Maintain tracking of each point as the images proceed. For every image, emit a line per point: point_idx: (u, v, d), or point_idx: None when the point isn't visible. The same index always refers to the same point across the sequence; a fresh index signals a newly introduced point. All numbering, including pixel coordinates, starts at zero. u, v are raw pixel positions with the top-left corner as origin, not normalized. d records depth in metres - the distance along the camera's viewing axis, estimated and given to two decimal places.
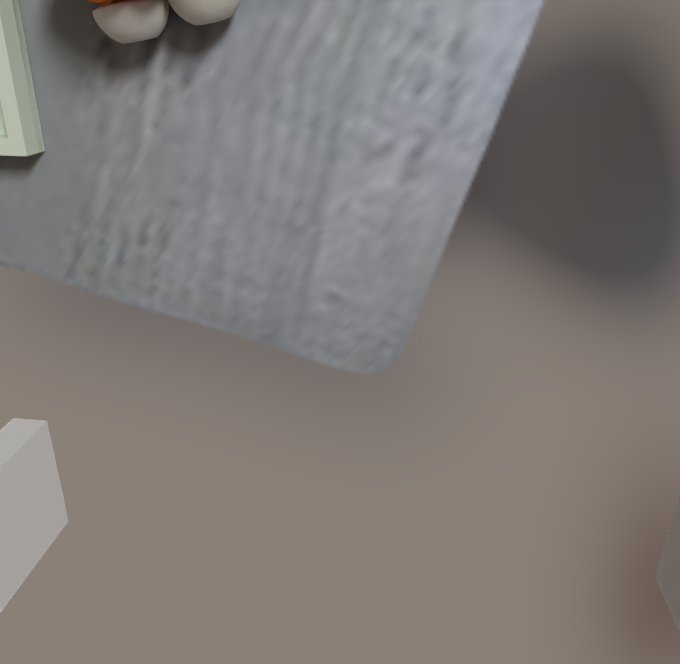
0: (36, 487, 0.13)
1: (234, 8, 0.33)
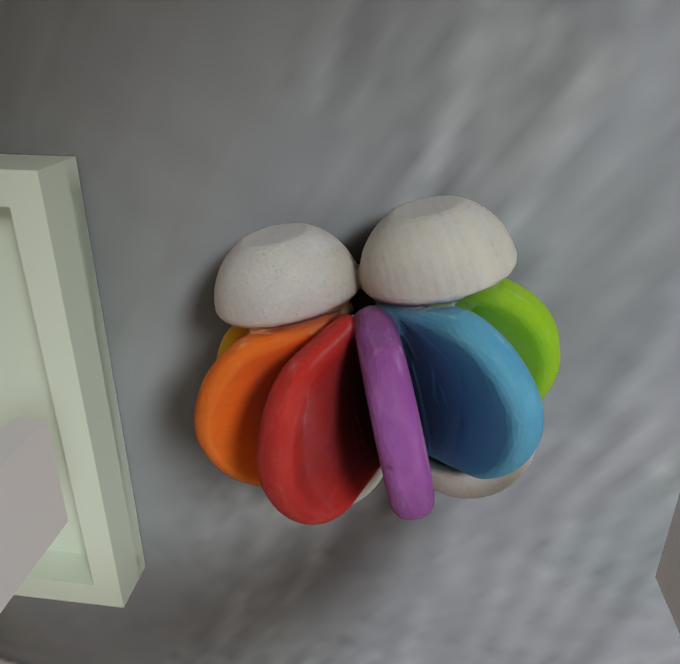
0: (36, 487, 0.13)
1: None
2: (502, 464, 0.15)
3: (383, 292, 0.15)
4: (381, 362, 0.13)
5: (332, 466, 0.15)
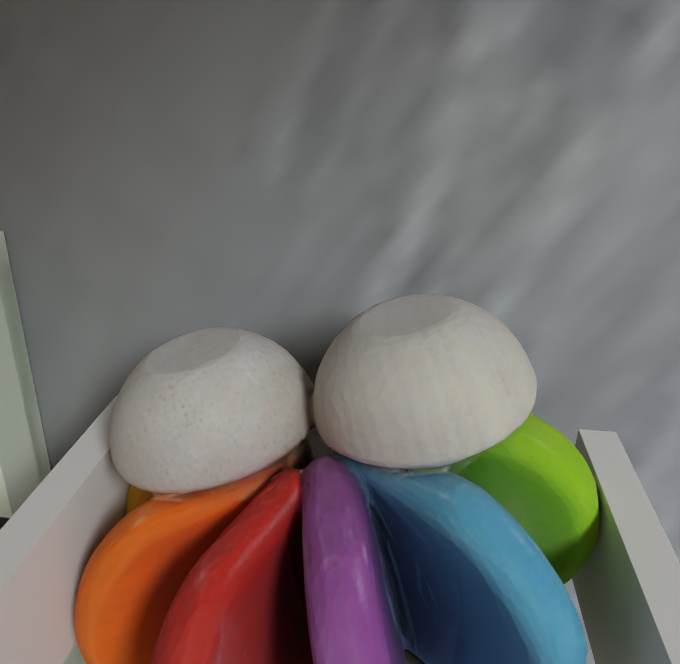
0: None
1: None
2: None
3: (343, 445, 0.10)
4: (332, 584, 0.09)
5: None
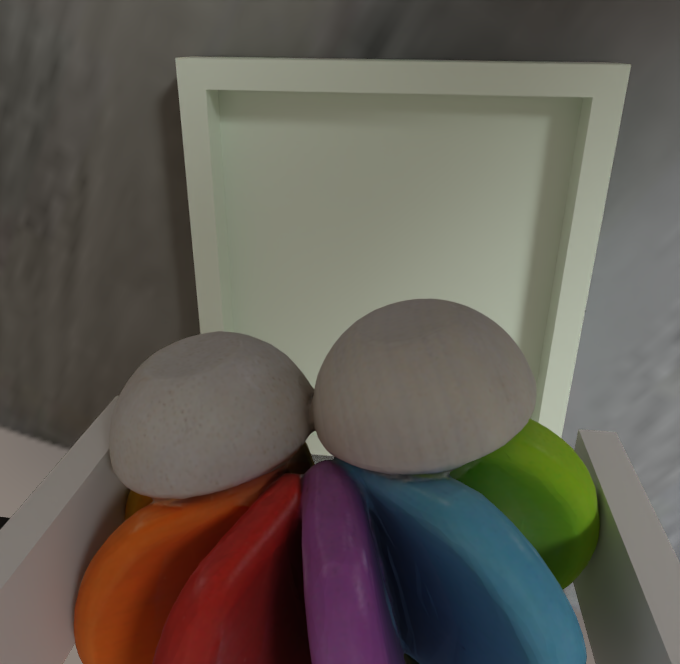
0: None
1: None
2: None
3: (342, 450, 0.10)
4: (331, 591, 0.09)
5: None
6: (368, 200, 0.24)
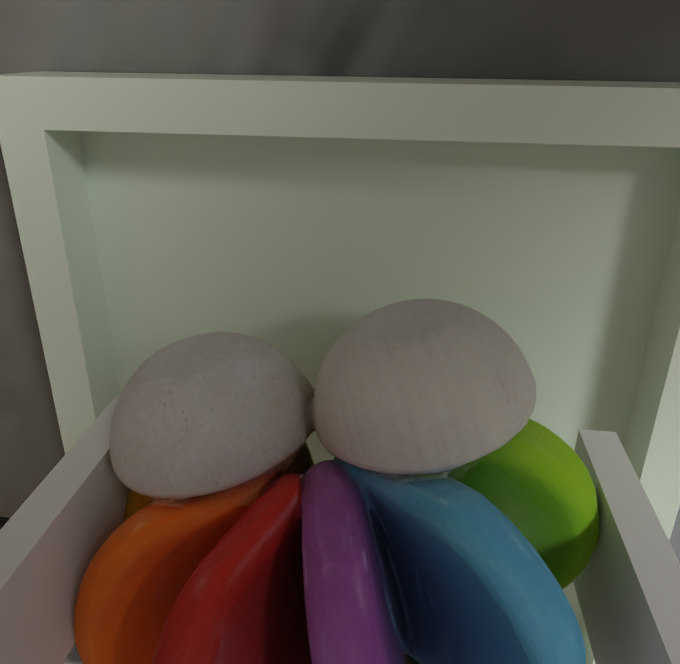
0: None
1: None
2: None
3: (343, 450, 0.10)
4: (332, 591, 0.09)
5: None
6: (331, 302, 0.15)
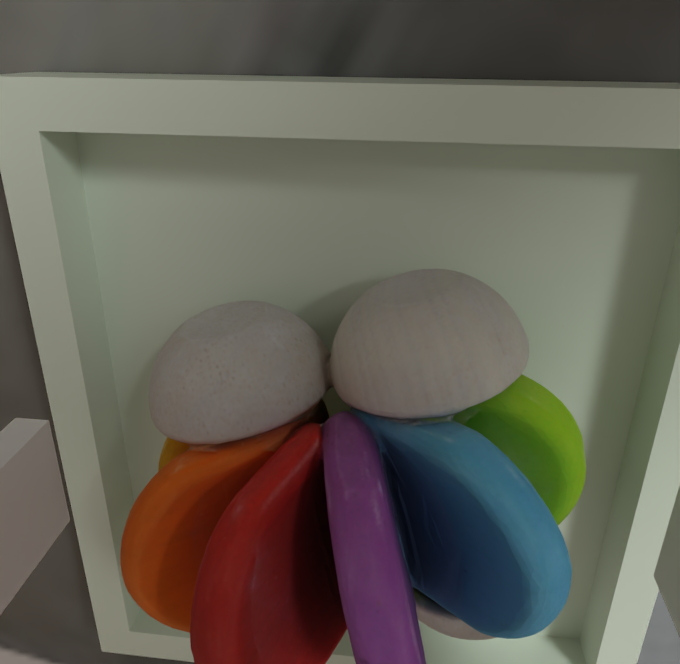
0: (38, 486, 0.13)
1: None
2: (517, 629, 0.11)
3: (359, 399, 0.12)
4: (353, 511, 0.10)
5: (294, 630, 0.11)
6: (330, 305, 0.15)
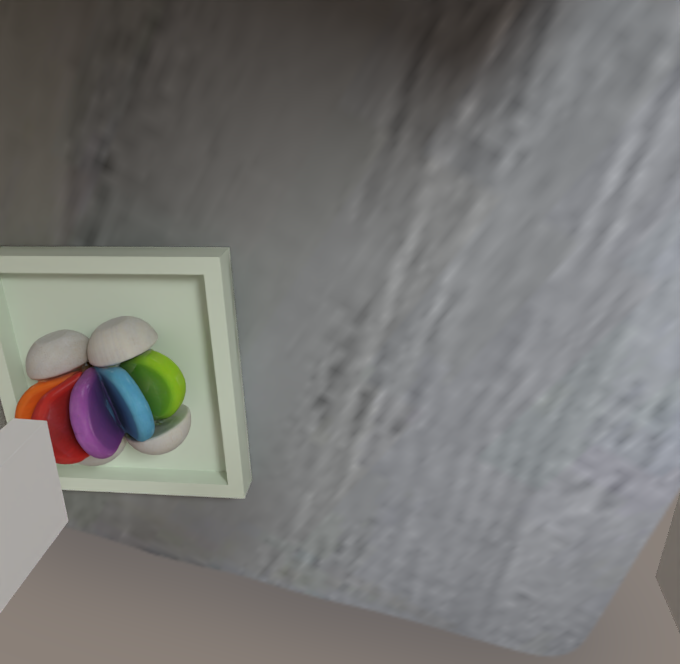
0: (36, 487, 0.13)
1: (184, 439, 0.38)
2: (139, 433, 0.34)
3: (91, 361, 0.35)
4: (75, 392, 0.33)
5: (69, 438, 0.35)
6: None
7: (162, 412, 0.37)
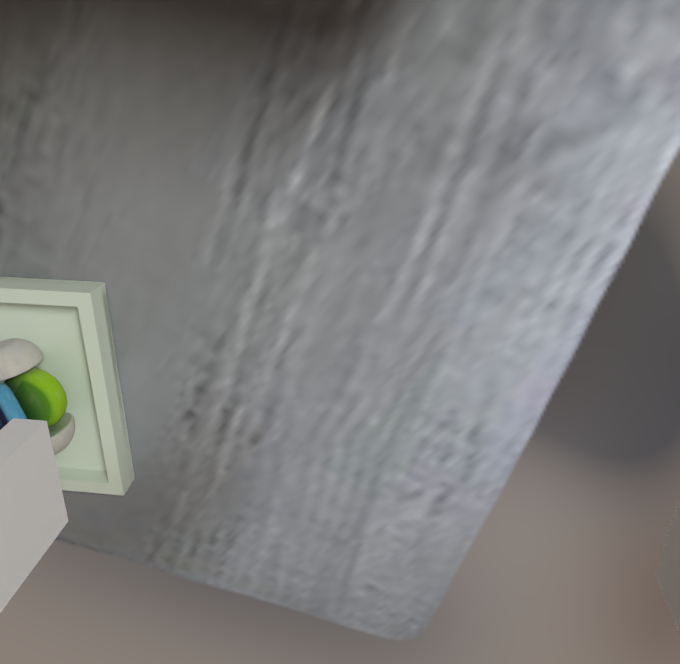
0: (36, 487, 0.13)
1: None
2: None
3: None
4: None
5: None
6: None
7: None
